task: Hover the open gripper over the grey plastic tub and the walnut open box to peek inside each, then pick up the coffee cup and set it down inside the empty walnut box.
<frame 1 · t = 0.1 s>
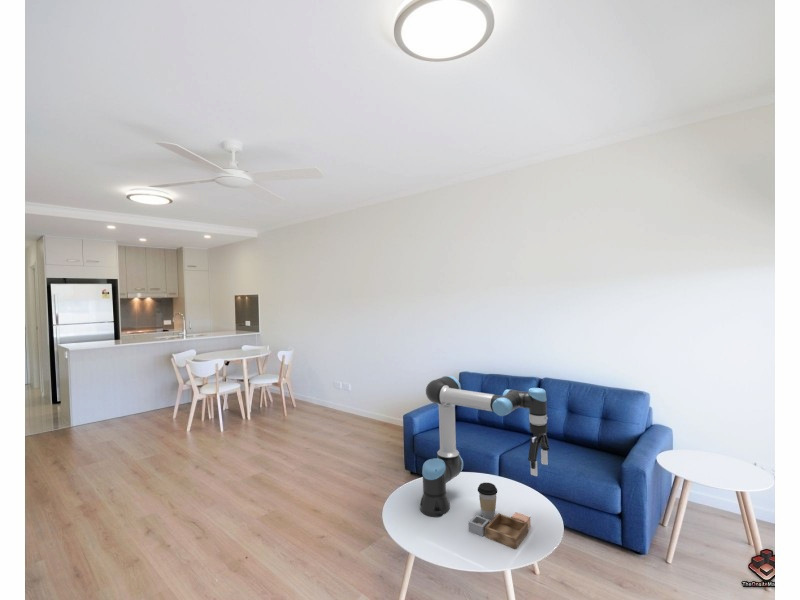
hand: (539, 469, 175), 28 cm above the table, fingers open, 13 cm apart
cork ball: (479, 529, 176), point 1 cm above the table, touching grey tub
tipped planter: (521, 527, 178), on the table
grey tub: (479, 531, 176), on the table
walnut box: (506, 536, 172), on the table
coffee cup: (488, 517, 187), on the table
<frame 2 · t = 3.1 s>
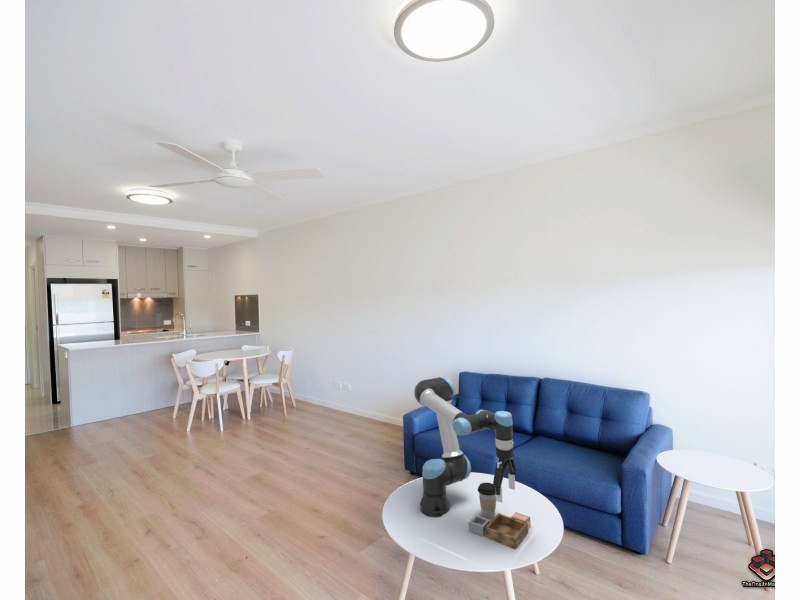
hand: (505, 494, 171), 19 cm above the table, fingers open, 13 cm apart
nothing on the table moved.
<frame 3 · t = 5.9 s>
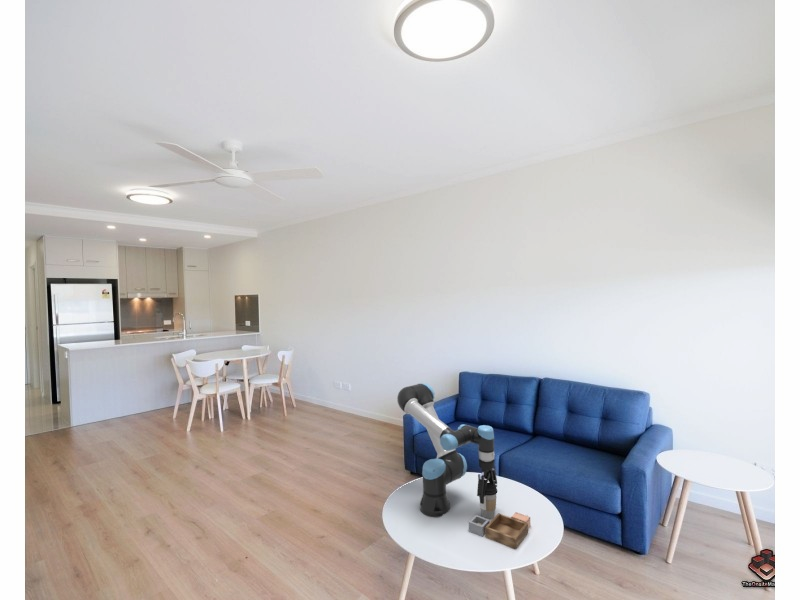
hand: (487, 504, 187), 6 cm above the table, fingers closed on coffee cup, 9 cm apart
coffee cup: (488, 517, 187), on the table, touching gripper
everything else where it was.
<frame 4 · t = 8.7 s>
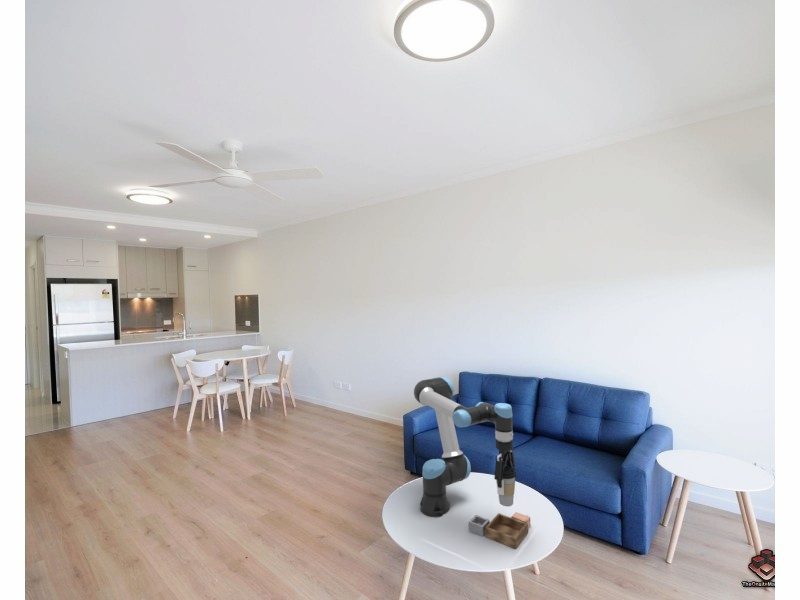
hand: (505, 489, 171), 21 cm above the table, fingers closed on coffee cup, 9 cm apart
coffee cup: (506, 503, 171), point 15 cm above the table, touching gripper
everything else where it was.
when the fingers open (8 cm above the table, at t = 11.6 s): coffee cup stays where it is, resting on walnut box.
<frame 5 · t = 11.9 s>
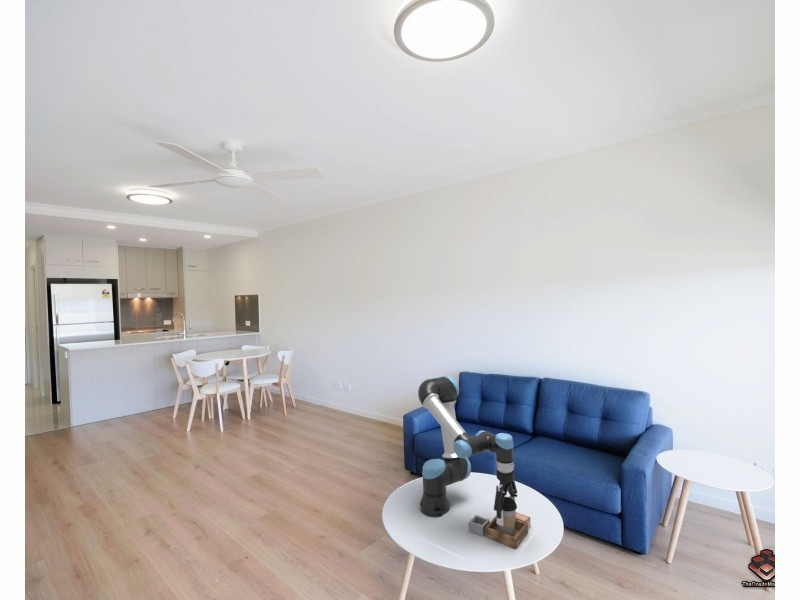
hand: (506, 517, 172), 9 cm above the table, fingers open, 12 cm apart
coffee cup: (506, 534, 172), point 1 cm above the table, touching walnut box
everything else where it was.
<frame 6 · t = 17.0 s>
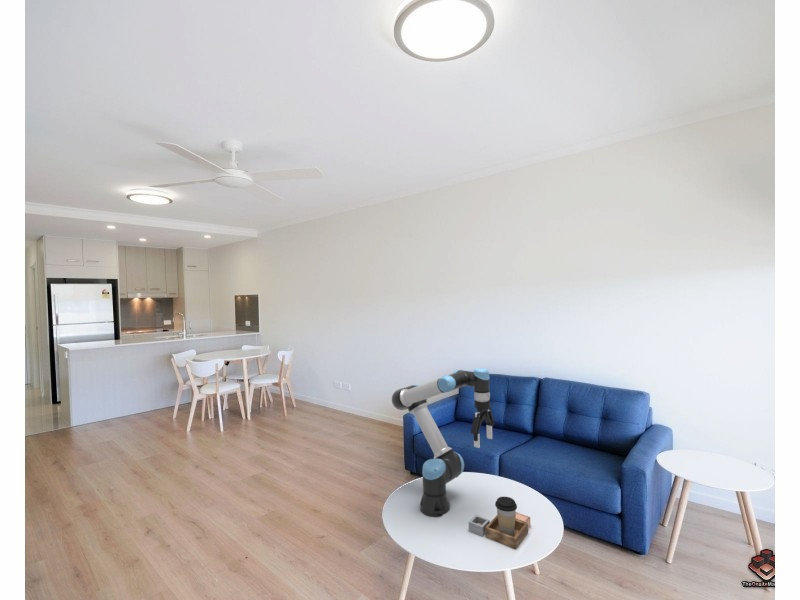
hand: (483, 442, 191), 35 cm above the table, fingers open, 13 cm apart
nothing on the table moved.
at the end: coffee cup inside the target area on the walnut box (0.1 cm from its centre), point 0.8 cm above the walnut box's base; coffee cup tilted 0°; the gripper is holding nothing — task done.
